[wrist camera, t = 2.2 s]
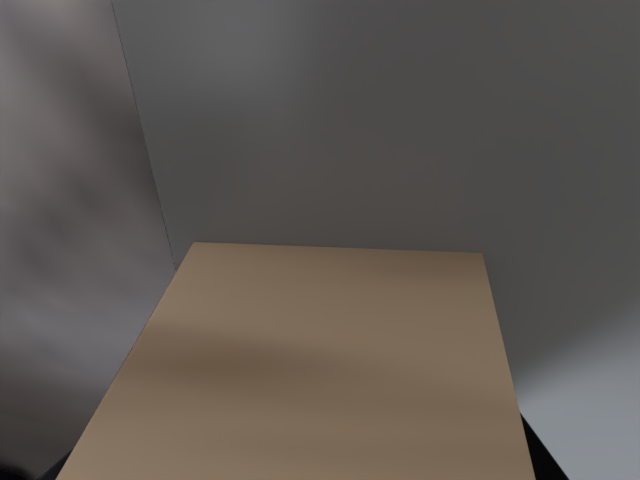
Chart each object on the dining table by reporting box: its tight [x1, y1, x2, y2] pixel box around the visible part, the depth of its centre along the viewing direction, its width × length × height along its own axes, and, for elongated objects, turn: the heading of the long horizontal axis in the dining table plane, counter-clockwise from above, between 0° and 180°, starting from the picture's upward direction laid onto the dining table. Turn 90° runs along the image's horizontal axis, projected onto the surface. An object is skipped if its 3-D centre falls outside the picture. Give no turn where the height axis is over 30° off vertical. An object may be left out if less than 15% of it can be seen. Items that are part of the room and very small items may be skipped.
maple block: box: [56, 242, 536, 480], centre depth 8 cm, size 5×5×5 cm
